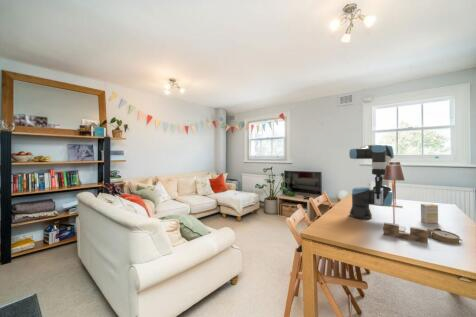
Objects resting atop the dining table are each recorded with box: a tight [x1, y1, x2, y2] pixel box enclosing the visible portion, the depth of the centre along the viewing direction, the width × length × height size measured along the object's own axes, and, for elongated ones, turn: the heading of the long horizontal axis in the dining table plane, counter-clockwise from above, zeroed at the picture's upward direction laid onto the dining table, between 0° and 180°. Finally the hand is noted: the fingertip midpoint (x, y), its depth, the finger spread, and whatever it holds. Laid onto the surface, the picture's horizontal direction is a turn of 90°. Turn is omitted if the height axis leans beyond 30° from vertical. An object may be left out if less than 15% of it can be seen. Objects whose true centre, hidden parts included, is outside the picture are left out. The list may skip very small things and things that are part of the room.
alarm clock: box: [426, 227, 463, 244], centre depth 119 cm, size 11×5×15 cm
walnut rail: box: [383, 222, 429, 244], centre depth 120 cm, size 20×3×7 cm, turn 51°
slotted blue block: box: [373, 188, 383, 207], centre depth 134 cm, size 10×4×10 cm, turn 141°
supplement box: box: [420, 203, 439, 224], centre depth 146 cm, size 8×5×13 cm, turn 84°
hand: (378, 202), depth 134 cm, fingers closed on slotted blue block, 10 cm apart
